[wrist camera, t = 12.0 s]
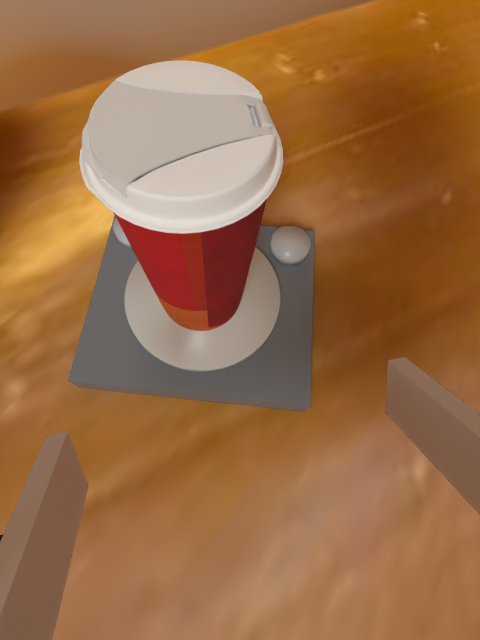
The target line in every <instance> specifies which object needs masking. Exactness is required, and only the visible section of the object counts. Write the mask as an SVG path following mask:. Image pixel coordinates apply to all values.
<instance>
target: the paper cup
mask: <svg viewBox="0 0 480 640" xmlns="http://www.w3.org/2000/svg"><path fill="white" fill-rule="evenodd" d="M282 165H283V148H282V144H281V140H280V137H279V134H278V132H277V130H276V128H275V126H274V124H273V122H272V119H271V117H270V115H269V113H268V110H267V107H266V104H265V103H263V100H262V95H261V94H260V92H259V91H258V90H257V89H256V88H255V87H254V86H253V85H252V84H251V83H250V82H248V81H247V80H246V79H244V78H243V77H241V76H239V75H237V74H236V73H234V72H232V71H229V70H227V69H224V68H222V67H219V66H215V65H212V64H208V63H202V62H196V61H166V62H160V63H154V64H150V65H146V66H142V67H140V68H137V69H135V70H132V71H130V72H128V73H126V74H124V75H122V76H120V77H119V78H117V79H116V80H115V81H113V82H112V84H111V85H110V86H109V87H108V88H107V89H106V90H105V91H104V92H103V93H102V94H101V96H100V97H99V98H98V99H97V100H96V102H95V104H94V106H93V107H92V109H91V111H90V116H89V120H88V122H87V124H86V125H85V127H84V130H83V133H82V148H81V150H80V168H81V174H82V177H83V179H84V182H85V184H86V187H87V188H88V189H89V190H90V191H91V192H92V193H93V194H94V195H95V196H96V197H97V198H98V199H99V200H100V201H101V202H102V203H103V204H104V205H105V206H106V207H107V208H108V209H109V210H111V211H112V212H113V213H114V215H115V216H116V218H117V220H118V222H119V224H120V226H121V228H122V230H123V232H124V234H125V236H126V238H127V240H128V242H129V243H130V245H131V247H132V249H133V251H134V253H135V255H136V257H137V259H138V261H139V263H140V265H141V267H142V269H143V271H144V272H145V274H146V276H147V278H148V280H149V282H150V284H151V286H152V288H153V290H154V291H155V293H156V295H157V297H158V299H159V301H160V303H161V304H162V306H163V308H164V309H165V311H166V312H167V314H168V315H169V317H170V318H171V319H172V320H173V321H174V322H176V323H177V324H178V325H180V326H182V327H184V328H187V329H190V330H195V331H207V330H212V329H215V328H218V327H220V326H222V325H224V324H225V323H226V322H228V321H229V320H230V319H231V318H232V317H233V315H234V314H235V313H236V311H237V309H238V307H239V304H240V302H241V298H242V295H243V292H244V288H245V284H246V280H247V276H248V272H249V268H250V264H251V261H252V257H253V254H254V250H255V247H256V242H257V238H258V233H259V229H260V224H261V220H262V215H263V211H264V207H265V203H266V199H267V198H268V197H269V196H270V194H271V193H272V191H273V190H274V188H275V187H276V185H277V182H278V180H279V177H280V175H281V170H282Z"/></svg>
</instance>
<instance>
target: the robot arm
mask: <svg viewBox="0 0 480 640" xmlns="http://www.w3.org/2000/svg"><path fill="white" fill-rule="evenodd" d="M386 414H387V415H388V416H389V417H390V418H391V419H392V420H393V421H394V422H395V423H396V425H397V426H398V427H399V428H400V429H401V430H402V431H403V432H404V433H405V434H406V435H407V436H408V438H409V439H410V440H411V441H412V442H413V443H414V444H415V445H416V446H417V447H418V448H419V449H420V451H421V452H422V453H423V454H424V455H425V456H426V457H427V458H428V459H429V460H430V461H431V462H432V464H433V465H434V466H435V467H436V468H437V469H438V470H439V471H440V472H441V473H442V474H443V475H444V477H445V478H446V479H447V480H448V481H449V482H450V483H451V484H452V485H453V486H454V487H455V488H456V490H457V491H458V492H459V493H460V494H461V495H462V496H463V497H464V498H465V499H466V500H467V501H468V503H469V504H470V505H471V506H472V507H473V508H474V509H475V510H476V511H477V512H478V513H479V514H480V414H479V413H477V412H476V411H475V410H473V409H472V408H471V407H469V406H468V405H467V404H466V403H464V402H463V401H462V400H460V399H459V398H458V397H456V396H455V395H454V394H453V393H451V392H450V391H449V390H447V389H446V388H445V387H443V386H442V385H441V384H439V383H438V382H437V381H436V380H434V379H433V378H432V377H430V376H429V375H428V374H426V373H425V372H424V371H423V370H421V369H420V368H419V367H417V366H416V365H415V364H413V363H412V362H411V361H409V360H408V359H407V358H406V357H401V358H396V359H392V360H388V370H387V398H386ZM87 490H88V482H87V480H86V477H85V474H84V472H83V469H82V467H81V464H80V462H79V459H78V457H77V454H76V452H75V449H74V447H73V444H72V441H71V439H70V436H69V434H68V431H67V432H63V433H58V434H54V435H49V436H46V438H45V441H44V443H43V445H42V447H41V450H40V452H39V454H38V457H37V459H36V461H35V463H34V466H33V468H32V470H31V473H30V475H29V477H28V479H27V482H26V484H25V486H24V489H23V491H22V493H21V495H20V498H19V500H18V502H17V505H16V507H15V509H14V511H13V514H12V516H11V518H10V521H9V523H8V525H7V527H6V530H5V532H4V534H3V535H0V640H52V638H53V634H54V630H55V626H56V621H57V617H58V613H59V609H60V604H61V600H62V596H63V592H64V587H65V583H66V579H67V575H68V570H69V566H70V562H71V558H72V553H73V549H74V545H75V541H76V536H77V532H78V528H79V524H80V519H81V515H82V511H83V507H84V502H85V498H86V494H87Z"/></svg>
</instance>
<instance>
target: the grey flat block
mask: <svg viewBox="0 0 480 640" xmlns="http://www.w3.org/2000/svg"><path fill="white" fill-rule="evenodd" d="M314 239H315V231H310V230H302V229H301V228H299V227H296V226H283V227H273V226H264V225H260V229H259V233H258V238H257V242H256V247H255V250H254V254H253V257H252V261H251V264H250V268H249V272H248V276H247V280H246V284H245V288H244V292H243V295H242V298H241V302H240V304H239V307H238V309H237V311H236V313H235V314H234V315H233V317H232V318H231V319H230V320H229V321H228V322H226V323H225V324H224V325H222V326H220V327H218V328H215V329H212V330H207V331H195V330H190V329H187V328H184V327H182V326H180V325H178V324H177V323H176V322H174V321H173V320H172V319H171V318H170V317H169V315H168V314H167V312H166V311H165V309H164V308H163V306H162V304H161V303H160V301H159V299H158V297H157V295H156V293H155V291H154V290H153V288H152V286H151V284H150V282H149V280H148V278H147V276H146V274H145V272H144V271H143V269H142V267H141V265H140V263H139V261H138V259H137V257H136V255H135V253H134V251H133V249H132V247H131V245H130V243H129V242H128V240H127V238H126V236H125V234H124V232H123V230H122V228H121V226H120V224H119V222H118V220H117V218H116V216H114V220H113V223H112V227H111V230H110V234H109V238H108V241H107V245H106V248H105V252H104V255H103V259H102V262H101V266H100V269H99V273H98V277H97V280H96V284H95V287H94V291H93V294H92V298H91V301H90V305H89V309H88V312H87V316H86V319H85V323H84V326H83V330H82V333H81V337H80V340H79V344H78V348H77V351H76V355H75V358H74V362H73V365H72V369H71V372H70V376H69V379H68V381H69V382H71V383H72V384H74V385H76V386H78V387H80V388H89V389H99V390H108V391H117V392H127V393H136V394H146V395H155V396H164V397H174V398H183V399H192V400H202V401H211V402H221V403H230V404H239V405H249V406H258V407H267V408H277V409H286V410H295V411H306V410H307V409H308V408H310V407H311V366H312V324H313V282H314Z"/></svg>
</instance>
